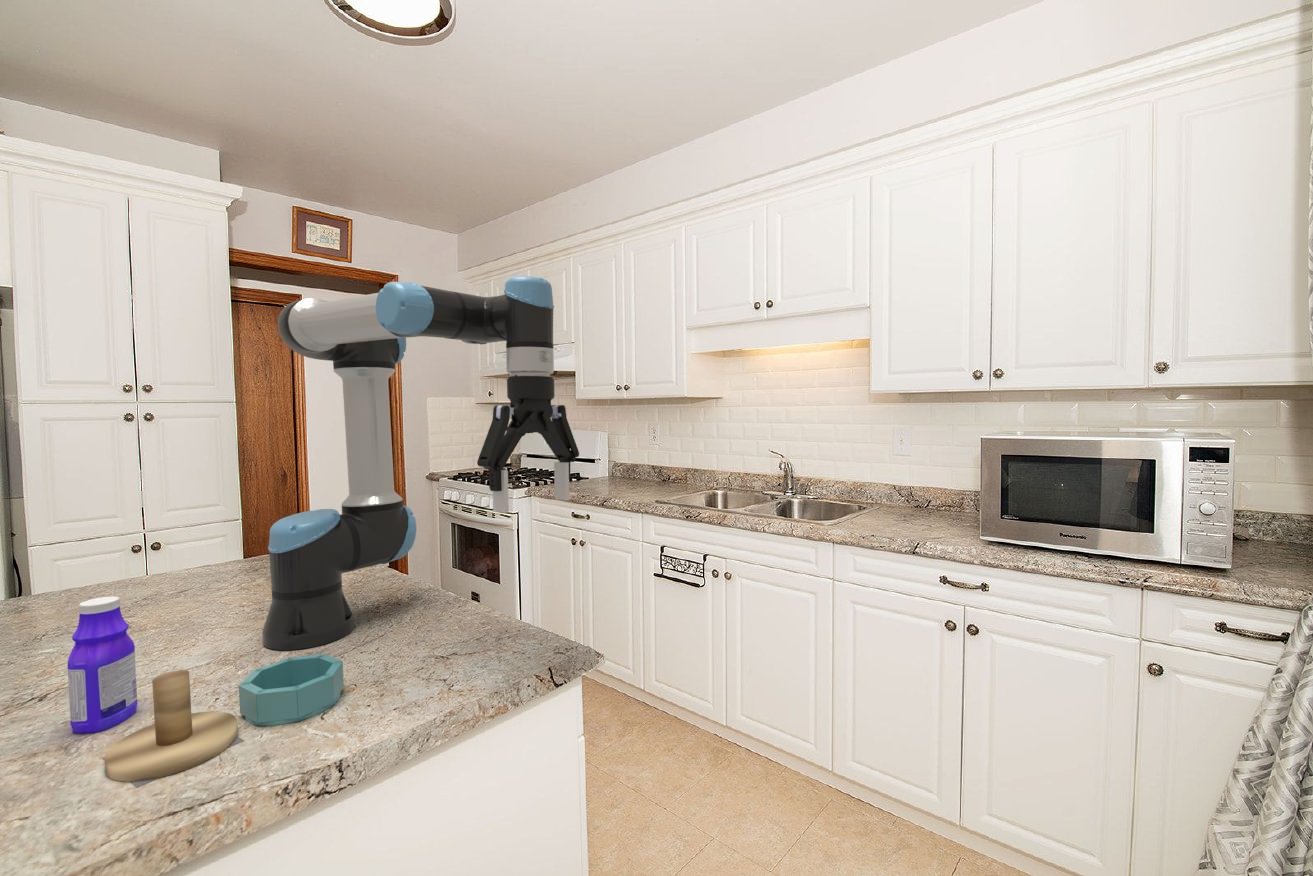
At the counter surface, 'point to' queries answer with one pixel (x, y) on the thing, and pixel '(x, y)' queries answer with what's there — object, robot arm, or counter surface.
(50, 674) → the counter surface
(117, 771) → the lid
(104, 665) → the bottle
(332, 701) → the bowl
